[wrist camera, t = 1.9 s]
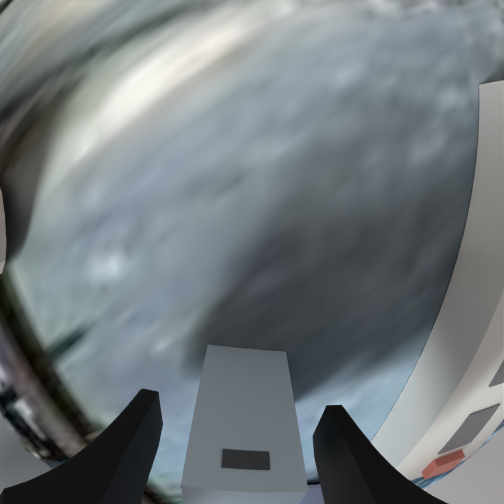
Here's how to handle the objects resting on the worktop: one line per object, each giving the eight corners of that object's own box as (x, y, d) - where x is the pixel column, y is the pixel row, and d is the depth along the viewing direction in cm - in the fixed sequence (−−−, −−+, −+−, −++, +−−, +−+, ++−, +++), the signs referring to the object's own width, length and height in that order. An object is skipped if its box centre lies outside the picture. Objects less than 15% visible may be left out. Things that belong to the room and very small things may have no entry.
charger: (269, 415, 12) (277, 529, 6) (205, 410, 12) (189, 523, 6) (286, 350, 11) (308, 490, 5) (207, 343, 11) (180, 484, 5)
